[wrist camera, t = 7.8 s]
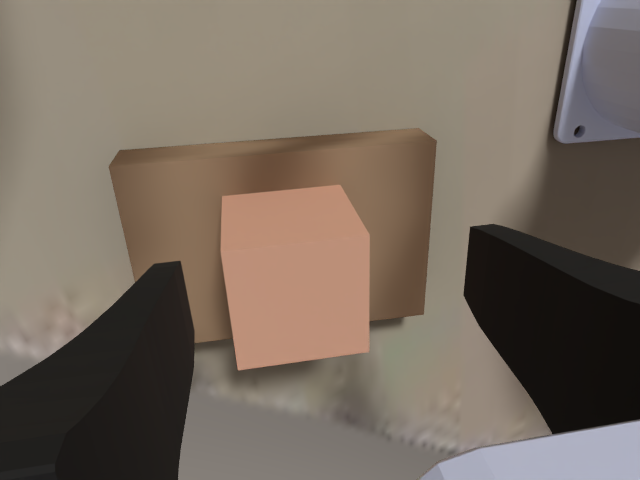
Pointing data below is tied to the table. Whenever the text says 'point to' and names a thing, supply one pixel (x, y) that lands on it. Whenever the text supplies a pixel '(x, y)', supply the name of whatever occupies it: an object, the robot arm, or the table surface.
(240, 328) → the terracotta cube
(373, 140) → the walnut board
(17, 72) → the table surface
